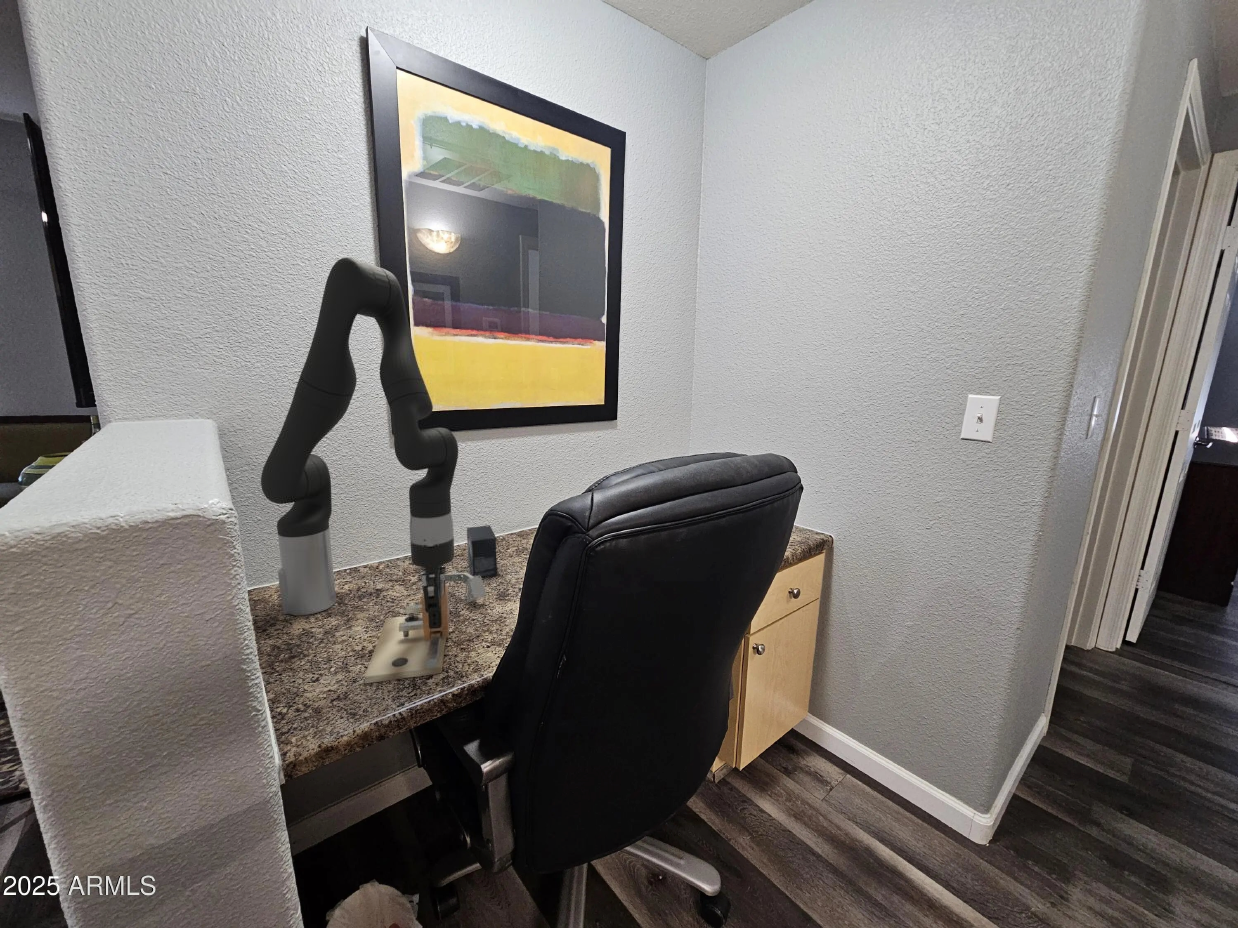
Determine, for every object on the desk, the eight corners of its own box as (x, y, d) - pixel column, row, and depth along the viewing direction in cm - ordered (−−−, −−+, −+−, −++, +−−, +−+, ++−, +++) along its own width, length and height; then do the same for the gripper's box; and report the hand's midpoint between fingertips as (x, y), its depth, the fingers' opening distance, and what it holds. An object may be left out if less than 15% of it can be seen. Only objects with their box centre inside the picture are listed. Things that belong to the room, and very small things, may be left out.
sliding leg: (398, 643, 90) (395, 600, 88) (401, 632, 94) (398, 590, 92) (448, 637, 92) (446, 595, 91) (449, 626, 96) (447, 586, 94)
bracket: (475, 600, 106) (461, 557, 107) (427, 614, 119) (415, 575, 120) (487, 595, 109) (473, 553, 109) (439, 609, 121) (427, 570, 122)
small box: (467, 564, 131) (465, 526, 129) (491, 560, 133) (490, 524, 131) (471, 579, 121) (470, 539, 119) (498, 575, 124) (497, 536, 122)
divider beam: (391, 673, 82) (390, 657, 81) (407, 615, 100) (407, 602, 100) (441, 666, 84) (440, 650, 83) (448, 611, 103) (447, 598, 102)
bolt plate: (364, 683, 81) (364, 676, 80) (386, 623, 100) (386, 617, 99) (441, 672, 84) (441, 666, 84) (448, 616, 103) (448, 611, 103)
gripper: (415, 525, 96) (419, 606, 99) (404, 551, 82) (410, 643, 85) (455, 523, 98) (458, 602, 101) (451, 548, 84) (455, 638, 87)
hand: (436, 621), depth 93 cm, fingers closed on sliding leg, 4 cm apart
